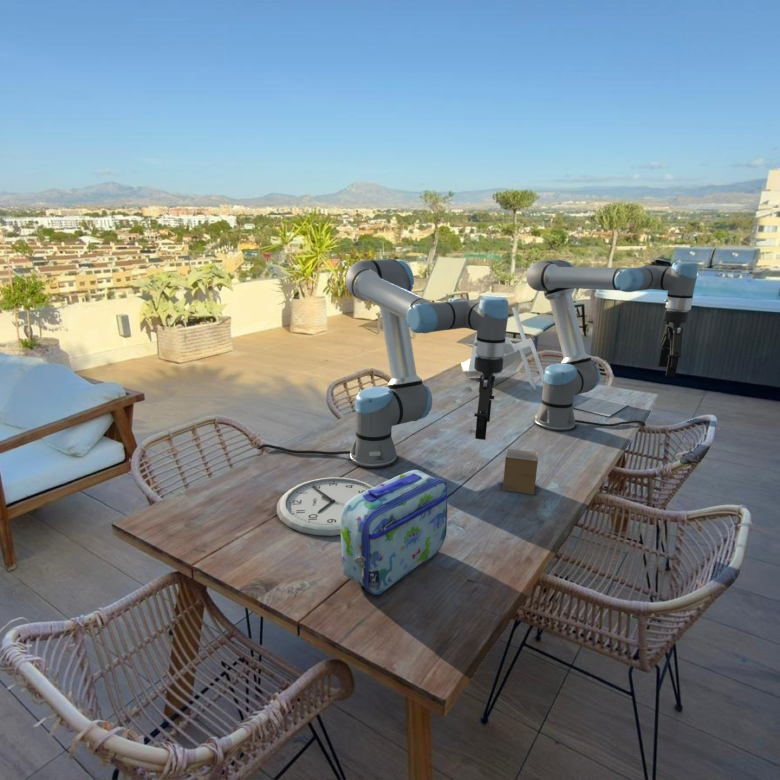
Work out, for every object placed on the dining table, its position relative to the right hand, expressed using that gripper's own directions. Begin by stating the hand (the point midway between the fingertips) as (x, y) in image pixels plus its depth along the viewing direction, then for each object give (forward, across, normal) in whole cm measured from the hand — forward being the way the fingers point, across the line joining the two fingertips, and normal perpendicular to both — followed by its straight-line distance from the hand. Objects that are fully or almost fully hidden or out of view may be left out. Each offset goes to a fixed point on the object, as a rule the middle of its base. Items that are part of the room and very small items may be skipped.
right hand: (666, 371), depth 181 cm
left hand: (+8, +57, -56) cm, 80 cm away
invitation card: (+27, -37, -15) cm, 48 cm away
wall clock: (+27, +77, -92) cm, 124 cm away
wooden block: (+27, +50, -44) cm, 72 cm away
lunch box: (+27, +98, -68) cm, 123 cm away
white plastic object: (+27, -57, -60) cm, 87 cm away
